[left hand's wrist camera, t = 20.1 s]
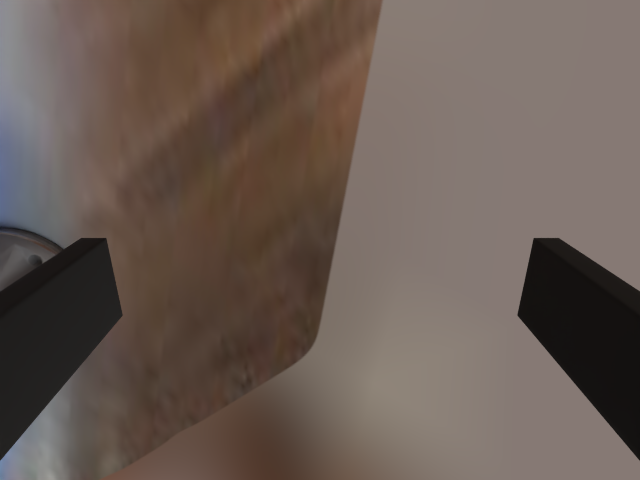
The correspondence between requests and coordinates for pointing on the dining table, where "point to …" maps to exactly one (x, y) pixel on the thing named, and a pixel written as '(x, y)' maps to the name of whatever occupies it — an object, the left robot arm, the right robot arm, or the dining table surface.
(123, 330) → the dining table surface
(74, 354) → the left robot arm
